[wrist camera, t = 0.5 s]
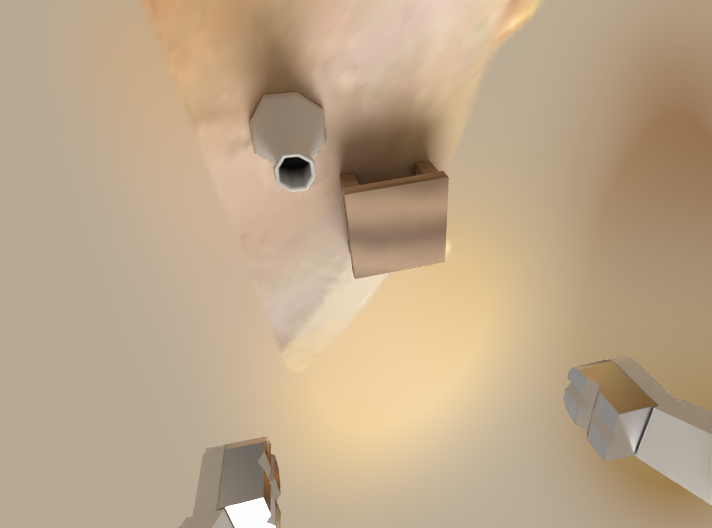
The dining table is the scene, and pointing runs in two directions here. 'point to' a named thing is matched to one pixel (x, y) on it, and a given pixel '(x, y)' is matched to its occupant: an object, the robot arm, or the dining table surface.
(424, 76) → the dining table surface
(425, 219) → the walnut stand
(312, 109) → the flask
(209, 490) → the robot arm
